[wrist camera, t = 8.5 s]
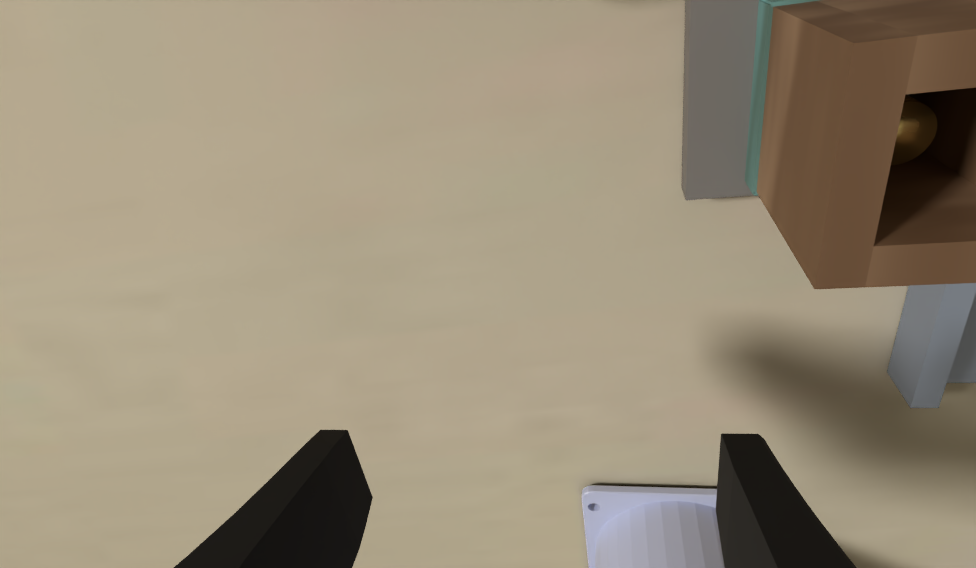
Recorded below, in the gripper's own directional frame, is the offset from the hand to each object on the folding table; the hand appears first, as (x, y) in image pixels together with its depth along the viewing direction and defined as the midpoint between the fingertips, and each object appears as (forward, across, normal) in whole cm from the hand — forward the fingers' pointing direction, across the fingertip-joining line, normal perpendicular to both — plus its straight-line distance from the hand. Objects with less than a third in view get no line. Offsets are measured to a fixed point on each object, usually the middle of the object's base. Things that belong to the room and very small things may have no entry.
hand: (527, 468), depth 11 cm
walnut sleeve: (+9, -8, -4) cm, 13 cm away
